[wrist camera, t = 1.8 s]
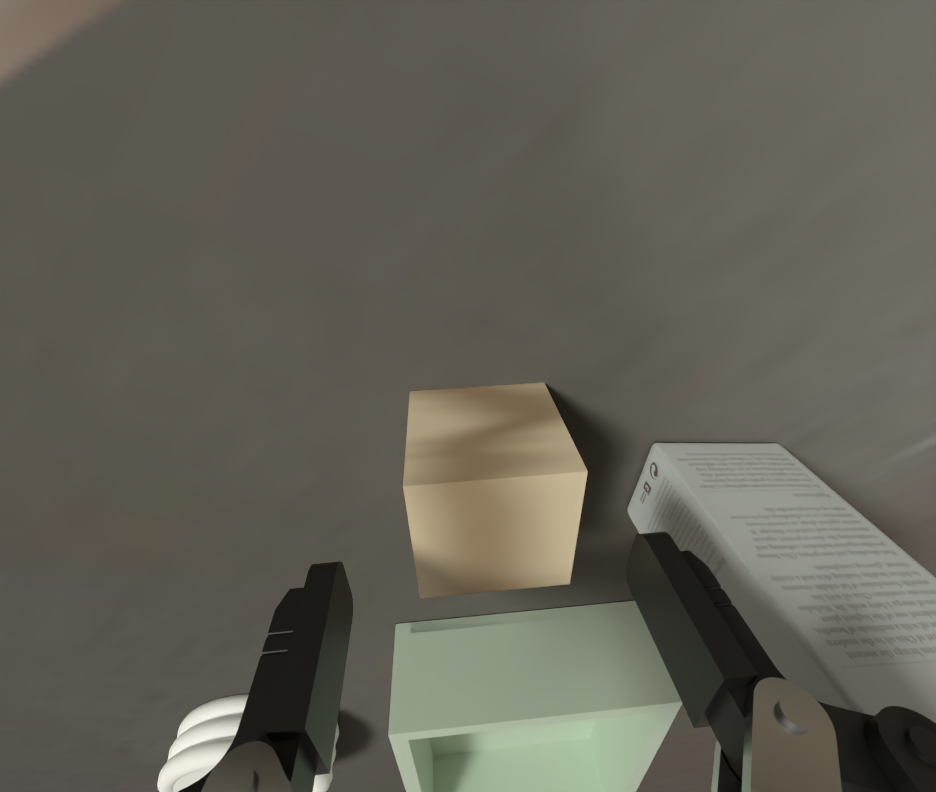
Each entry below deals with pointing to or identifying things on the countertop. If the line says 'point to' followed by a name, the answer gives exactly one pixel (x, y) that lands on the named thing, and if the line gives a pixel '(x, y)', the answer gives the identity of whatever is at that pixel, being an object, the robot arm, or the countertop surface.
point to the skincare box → (799, 571)
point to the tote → (529, 701)
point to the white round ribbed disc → (211, 744)
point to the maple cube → (491, 489)
